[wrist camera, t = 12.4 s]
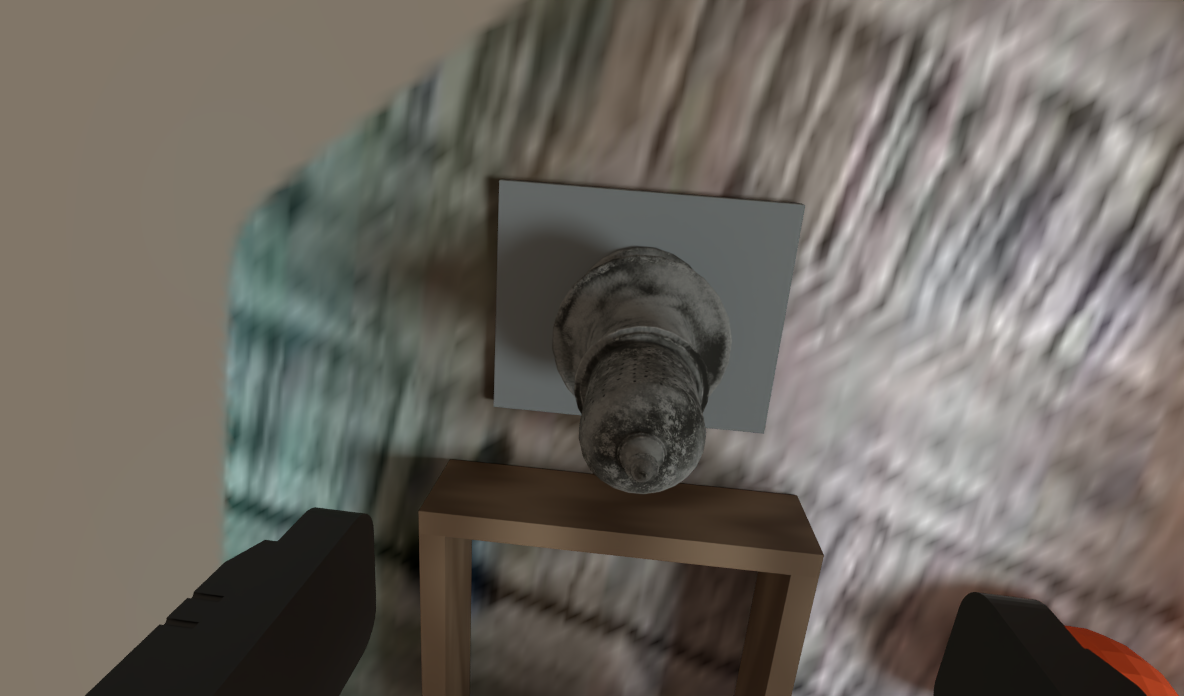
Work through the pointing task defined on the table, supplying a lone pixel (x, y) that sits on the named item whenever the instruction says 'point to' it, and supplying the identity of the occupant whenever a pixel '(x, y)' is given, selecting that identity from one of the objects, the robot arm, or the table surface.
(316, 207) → the table surface
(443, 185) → the table surface
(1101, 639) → the clementine
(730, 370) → the mat
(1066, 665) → the robot arm
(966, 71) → the table surface
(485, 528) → the walnut crate
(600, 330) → the stone chess piece
